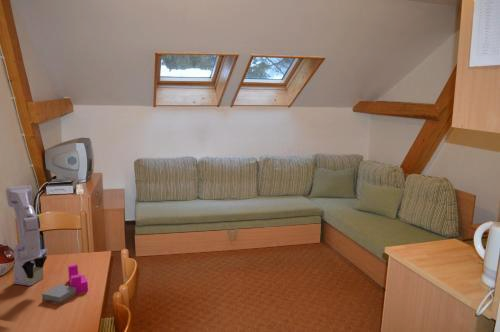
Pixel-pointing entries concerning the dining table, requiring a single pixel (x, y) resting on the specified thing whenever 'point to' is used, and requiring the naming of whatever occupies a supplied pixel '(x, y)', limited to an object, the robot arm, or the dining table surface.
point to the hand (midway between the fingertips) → (34, 275)
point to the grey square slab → (57, 301)
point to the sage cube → (36, 274)
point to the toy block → (77, 279)
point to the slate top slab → (58, 293)
